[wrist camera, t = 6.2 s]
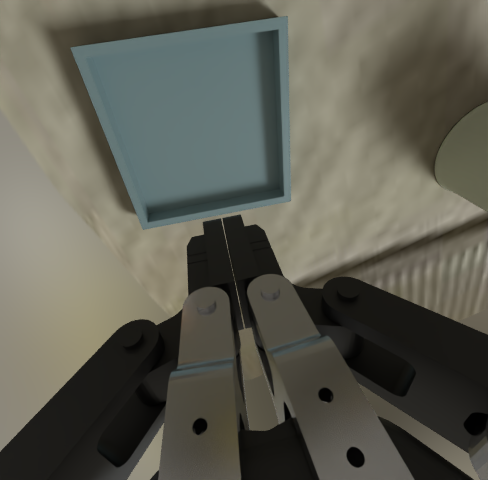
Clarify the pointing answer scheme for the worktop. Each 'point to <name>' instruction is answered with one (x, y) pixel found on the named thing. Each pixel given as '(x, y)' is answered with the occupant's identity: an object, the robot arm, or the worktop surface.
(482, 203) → the can
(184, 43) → the tray
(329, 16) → the worktop surface
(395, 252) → the worktop surface
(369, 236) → the worktop surface
